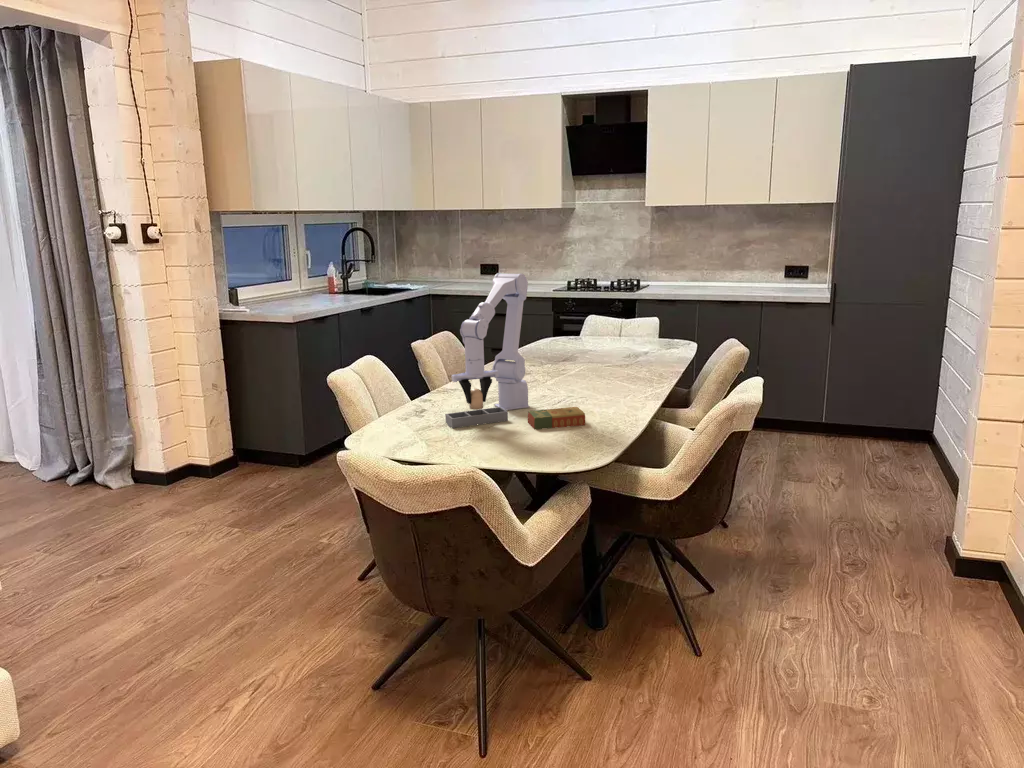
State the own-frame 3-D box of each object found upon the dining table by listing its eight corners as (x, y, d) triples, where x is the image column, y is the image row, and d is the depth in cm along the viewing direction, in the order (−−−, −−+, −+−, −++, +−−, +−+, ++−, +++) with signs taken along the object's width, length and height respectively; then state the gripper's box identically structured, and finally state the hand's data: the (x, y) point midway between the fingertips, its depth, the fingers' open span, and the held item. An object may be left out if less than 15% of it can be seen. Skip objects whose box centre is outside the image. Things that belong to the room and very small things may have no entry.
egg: (480, 405, 233) (479, 386, 232) (485, 408, 230) (484, 389, 228) (467, 407, 232) (466, 388, 230) (472, 410, 228) (471, 390, 227)
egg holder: (500, 415, 238) (500, 406, 237) (507, 420, 232) (507, 411, 232) (445, 423, 231) (445, 413, 231) (452, 428, 226) (451, 418, 225)
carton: (585, 426, 226) (585, 412, 225) (534, 431, 222) (533, 417, 221) (577, 419, 234) (577, 405, 233) (527, 423, 230) (527, 410, 229)
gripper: (456, 363, 221) (457, 407, 224) (501, 358, 226) (502, 402, 229) (448, 359, 227) (450, 402, 230) (493, 355, 233) (494, 397, 236)
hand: (476, 402), depth 230 cm, fingers closed on egg, 4 cm apart
